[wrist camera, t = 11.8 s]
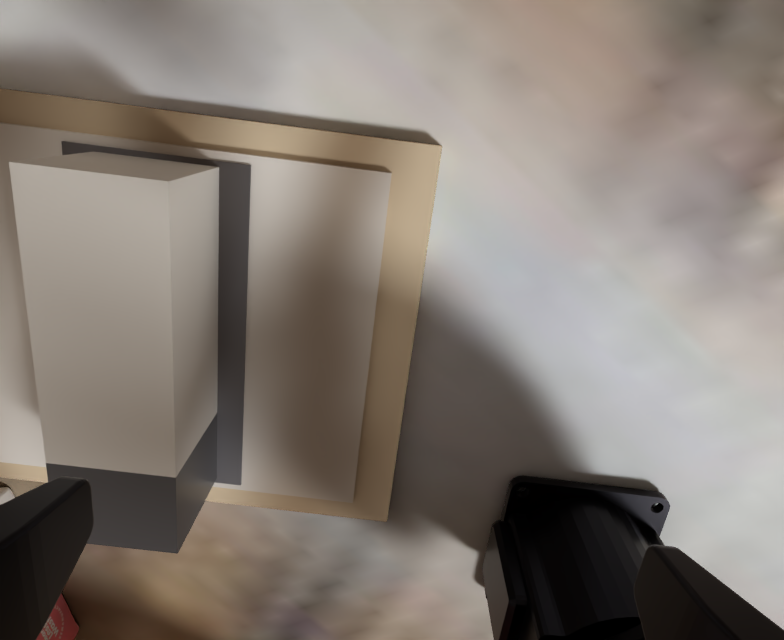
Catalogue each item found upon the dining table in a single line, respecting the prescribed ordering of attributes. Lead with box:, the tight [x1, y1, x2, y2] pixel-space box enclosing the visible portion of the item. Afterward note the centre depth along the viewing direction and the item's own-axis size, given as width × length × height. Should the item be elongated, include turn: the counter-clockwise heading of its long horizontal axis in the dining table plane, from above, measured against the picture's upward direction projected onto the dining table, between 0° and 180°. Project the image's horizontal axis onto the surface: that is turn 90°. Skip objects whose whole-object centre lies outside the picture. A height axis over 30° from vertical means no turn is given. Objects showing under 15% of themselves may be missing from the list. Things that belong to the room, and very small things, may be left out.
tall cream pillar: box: [9, 151, 219, 553], centre depth 18 cm, size 4×12×4 cm, turn 173°
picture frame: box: [0, 88, 442, 522], centre depth 20 cm, size 20×15×1 cm
